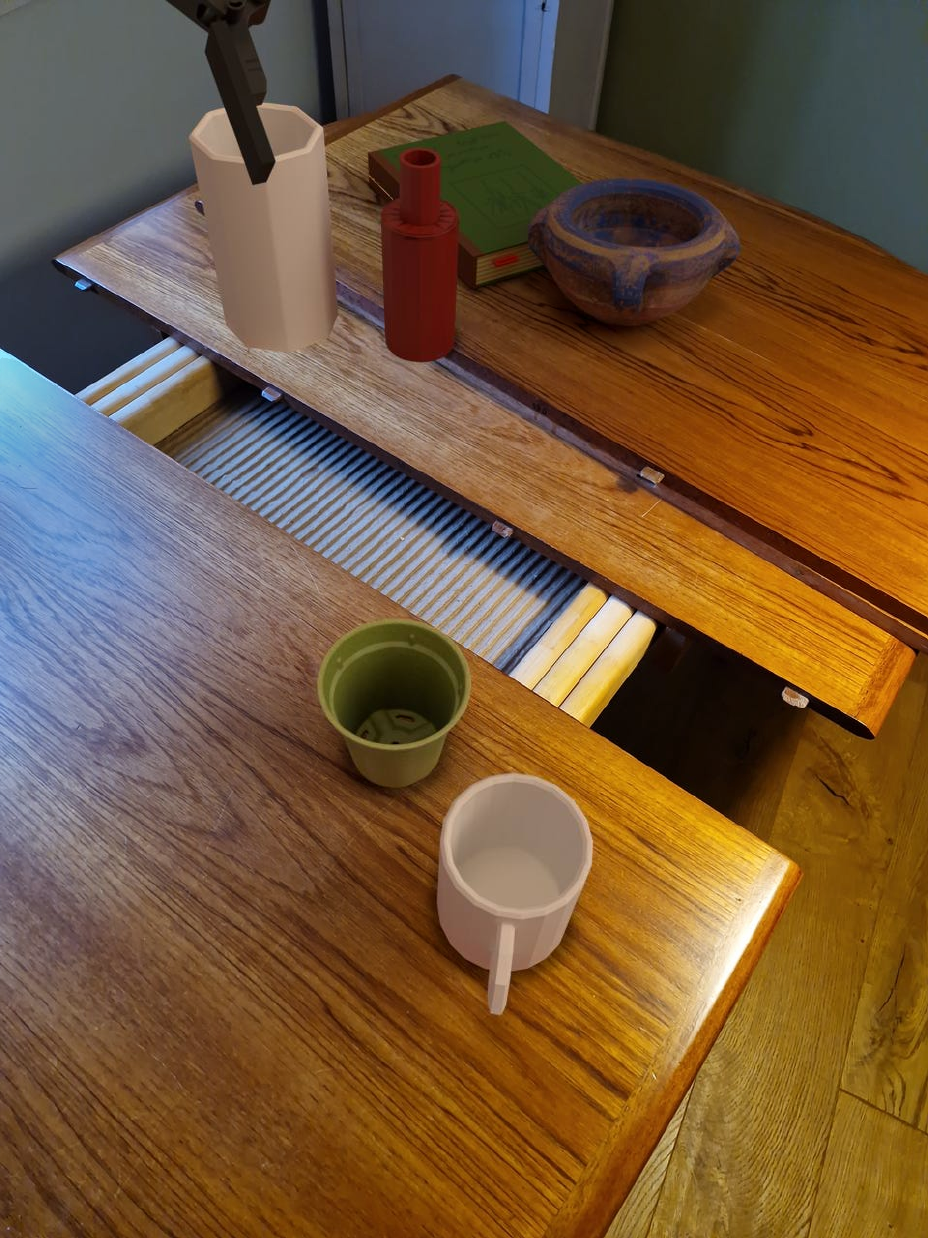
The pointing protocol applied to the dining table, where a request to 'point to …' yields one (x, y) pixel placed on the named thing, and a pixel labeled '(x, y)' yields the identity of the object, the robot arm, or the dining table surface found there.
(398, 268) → the sauce bottle
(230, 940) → the dining table surface
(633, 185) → the bowl
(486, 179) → the book
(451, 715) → the plant pot
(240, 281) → the cup
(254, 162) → the robot arm
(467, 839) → the mug
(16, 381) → the dining table surface
